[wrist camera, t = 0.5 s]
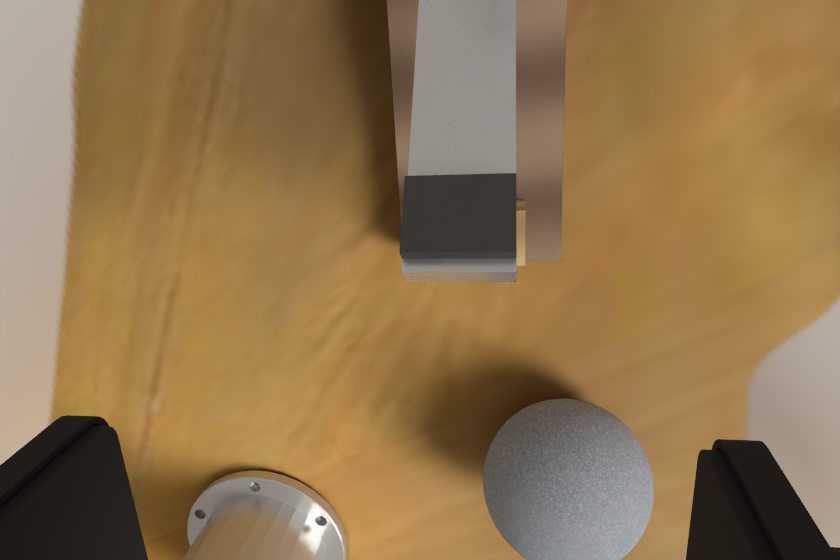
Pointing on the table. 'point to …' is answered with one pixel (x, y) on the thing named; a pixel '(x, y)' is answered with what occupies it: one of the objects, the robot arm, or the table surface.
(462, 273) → the grey flat bar
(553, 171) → the mount block
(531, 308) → the table surface
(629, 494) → the decorative stone
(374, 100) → the table surface
